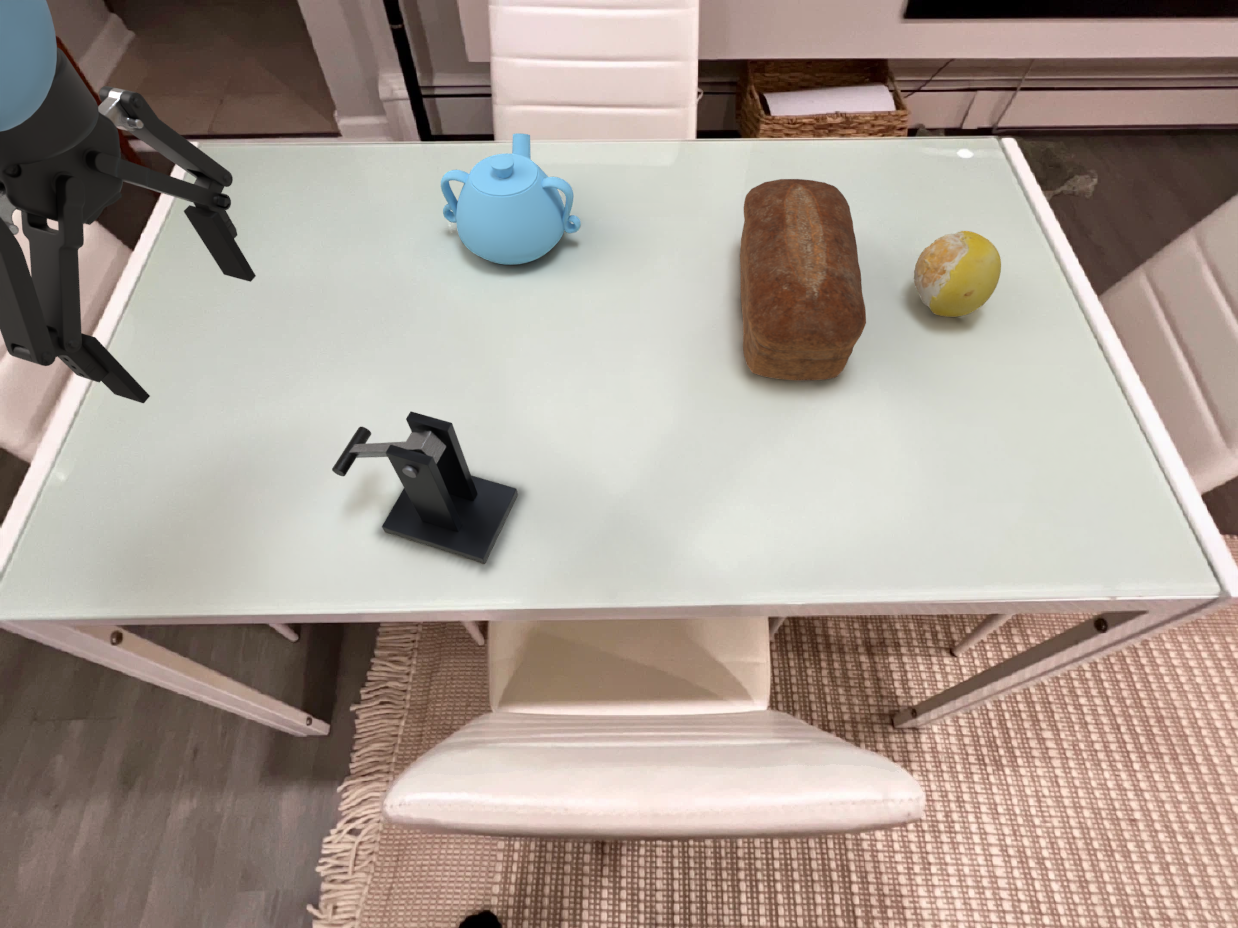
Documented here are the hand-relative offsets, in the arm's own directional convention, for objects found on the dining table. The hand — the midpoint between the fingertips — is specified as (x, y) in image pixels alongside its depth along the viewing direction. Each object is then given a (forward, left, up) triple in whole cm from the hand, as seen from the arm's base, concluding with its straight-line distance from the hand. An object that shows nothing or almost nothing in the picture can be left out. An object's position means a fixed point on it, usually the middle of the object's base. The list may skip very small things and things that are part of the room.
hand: (189, 332), depth 57 cm
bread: (+61, -16, -27) cm, 69 cm away
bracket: (+10, -12, -27) cm, 31 cm away
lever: (+8, -9, -17) cm, 21 cm away
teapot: (+44, +21, -27) cm, 56 cm away
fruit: (+77, -29, -27) cm, 87 cm away
